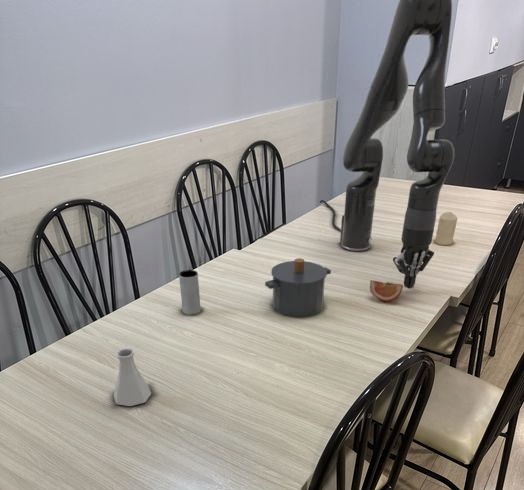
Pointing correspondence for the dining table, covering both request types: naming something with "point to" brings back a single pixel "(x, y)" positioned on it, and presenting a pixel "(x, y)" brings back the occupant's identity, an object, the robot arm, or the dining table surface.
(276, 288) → the pot
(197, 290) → the gray cylinder
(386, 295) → the fruit slice
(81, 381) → the dining table surface
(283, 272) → the pot lid
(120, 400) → the flask
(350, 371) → the dining table surface
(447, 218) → the candle
